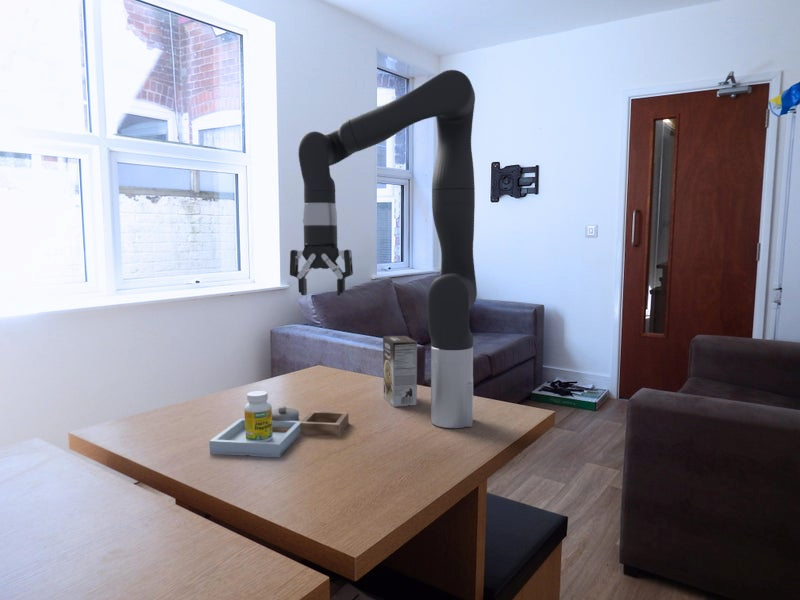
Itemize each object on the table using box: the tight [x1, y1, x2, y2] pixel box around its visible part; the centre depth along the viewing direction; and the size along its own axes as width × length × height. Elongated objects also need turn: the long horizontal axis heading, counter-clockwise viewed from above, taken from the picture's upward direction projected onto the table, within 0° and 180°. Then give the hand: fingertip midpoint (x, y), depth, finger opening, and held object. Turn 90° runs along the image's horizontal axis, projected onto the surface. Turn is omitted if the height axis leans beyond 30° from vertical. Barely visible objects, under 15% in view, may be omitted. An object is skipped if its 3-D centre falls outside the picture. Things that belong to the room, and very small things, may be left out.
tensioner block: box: [272, 405, 350, 437], centre depth 125 cm, size 19×10×4 cm, turn 82°
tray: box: [209, 418, 301, 458], centre depth 116 cm, size 14×14×2 cm
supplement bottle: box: [243, 390, 273, 442], centre depth 116 cm, size 5×5×10 cm
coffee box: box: [382, 335, 418, 408], centre depth 145 cm, size 9×6×16 cm
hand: (321, 295), depth 132 cm, fingers open, 8 cm apart
